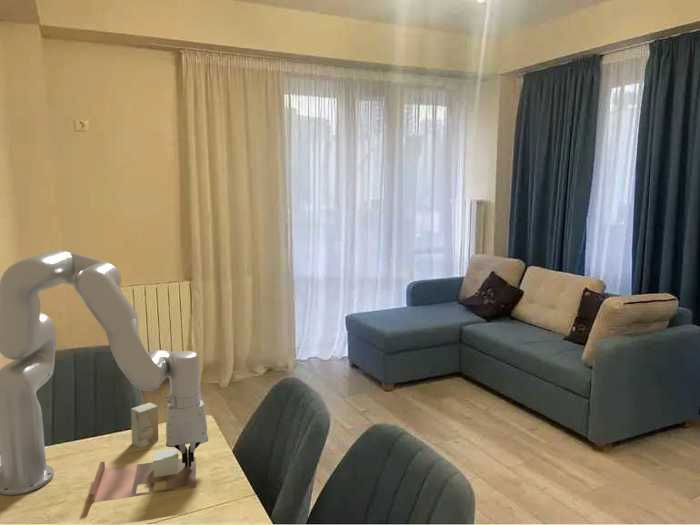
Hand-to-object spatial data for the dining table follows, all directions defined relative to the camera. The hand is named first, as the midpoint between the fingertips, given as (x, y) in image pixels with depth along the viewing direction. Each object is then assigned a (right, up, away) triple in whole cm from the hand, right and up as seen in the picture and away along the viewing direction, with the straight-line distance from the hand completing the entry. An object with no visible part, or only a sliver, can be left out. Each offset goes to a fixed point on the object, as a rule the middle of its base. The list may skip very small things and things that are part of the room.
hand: (188, 464), depth 137 cm
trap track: (-9, -3, -5) cm, 11 cm away
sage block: (-5, -1, -2) cm, 6 cm away
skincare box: (-17, 0, +14) cm, 21 cm away
